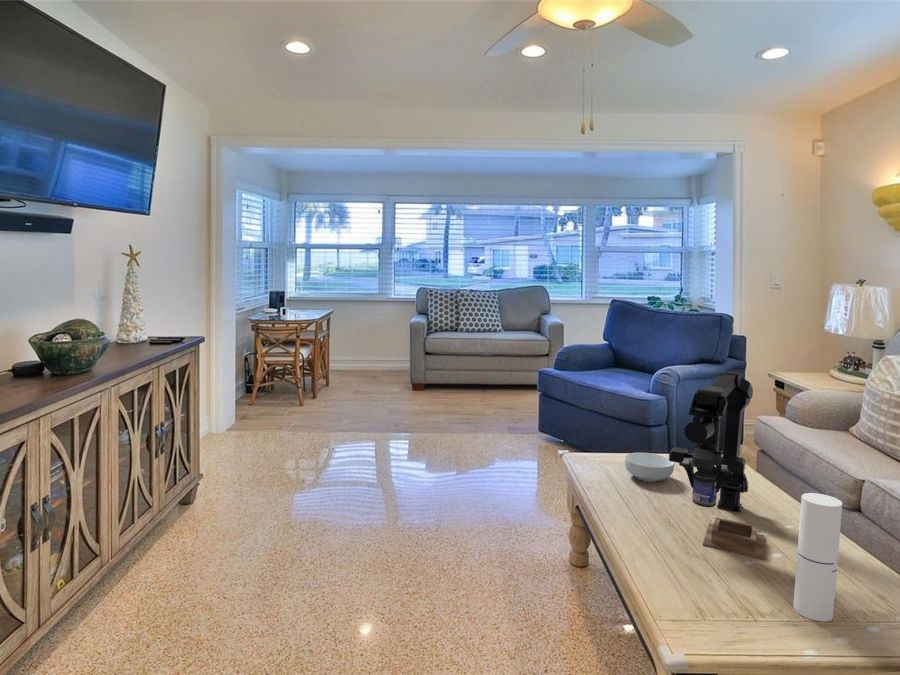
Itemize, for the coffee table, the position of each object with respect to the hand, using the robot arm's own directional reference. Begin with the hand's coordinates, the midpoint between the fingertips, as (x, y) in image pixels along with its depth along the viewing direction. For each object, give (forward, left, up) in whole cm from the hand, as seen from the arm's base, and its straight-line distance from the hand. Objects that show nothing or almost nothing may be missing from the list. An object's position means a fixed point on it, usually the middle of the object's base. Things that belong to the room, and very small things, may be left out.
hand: (704, 489), depth 154 cm
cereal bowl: (-37, -22, -13) cm, 45 cm away
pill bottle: (0, 0, -4) cm, 4 cm away
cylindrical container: (+28, +25, -13) cm, 39 cm away
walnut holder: (+1, +8, -13) cm, 15 cm away
